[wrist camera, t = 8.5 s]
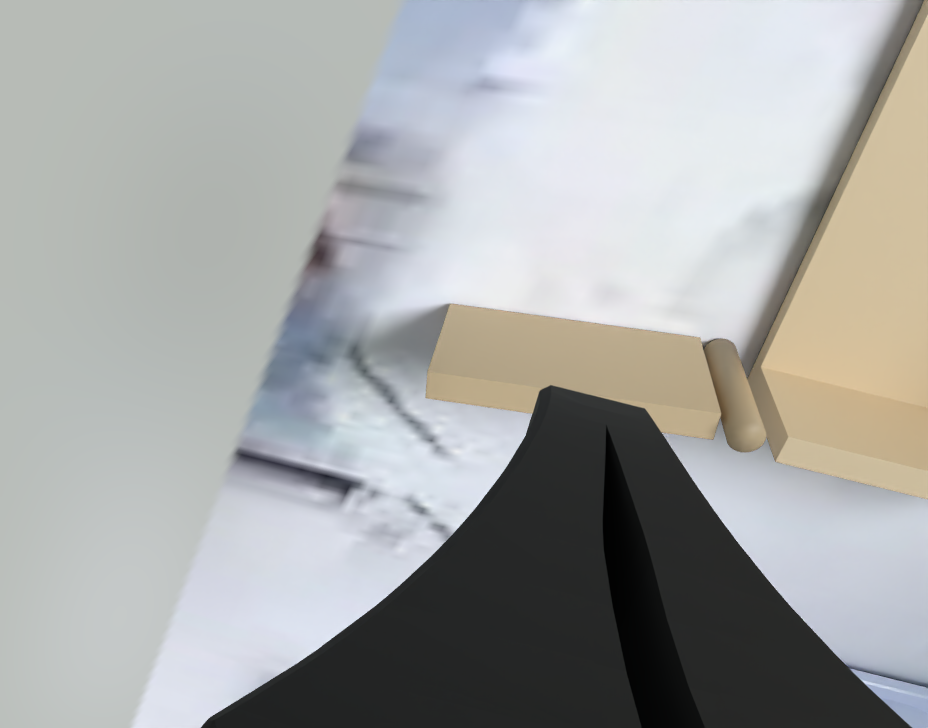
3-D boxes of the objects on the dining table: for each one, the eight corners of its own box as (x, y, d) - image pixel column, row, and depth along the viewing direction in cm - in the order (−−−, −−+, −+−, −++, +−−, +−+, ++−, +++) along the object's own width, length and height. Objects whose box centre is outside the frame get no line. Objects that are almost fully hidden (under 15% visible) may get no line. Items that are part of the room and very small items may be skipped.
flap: (739, 341, 17) (770, 424, 14) (731, 368, 17) (760, 455, 15) (450, 301, 17) (425, 375, 15) (448, 329, 18) (423, 405, 15)
